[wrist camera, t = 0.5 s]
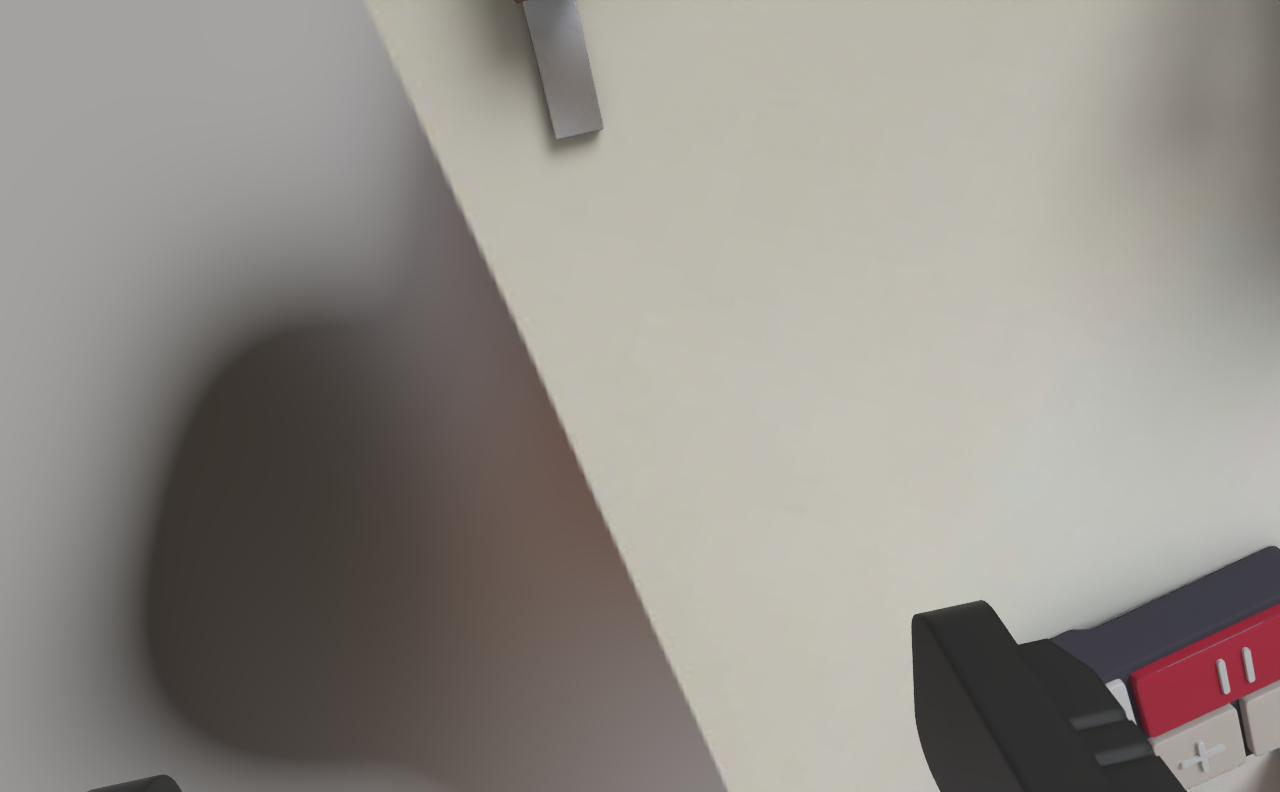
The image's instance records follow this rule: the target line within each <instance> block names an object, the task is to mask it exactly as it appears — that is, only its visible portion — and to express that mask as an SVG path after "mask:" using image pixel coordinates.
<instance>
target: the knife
mask: <svg viewBox="0 0 1280 792" xmlns="http://www.w3.org/2000/svg"><path fill="white" fill-rule="evenodd" d="M515 2H516V3H519V2H522V3H523V7H524V11H525V15H526V19H527V23H528V27H529V31H530V35H531V40H532V44H533V48H534V52H535V56H536V60H537V64H538V68H539V73H540V77H541V81H542V85H543V89H544V93H545V97H546V101H547V105H548V110H549V114H550V118H551V122H552V126H553V130H554V134H555V138H556V140H559V139H564V138H568V137H572V136H576V135H581V134H585V133H589V132H594V131H598V130H602V129H603V124H602V119H601V114H600V110H599V105H598V101H597V96H596V91H595V87H594V82H593V78H592V73H591V68H590V64H589V59H588V55H587V50H586V45H585V41H584V36H583V32H582V27H581V23H580V18H579V13H578V9H577V4H576V0H515Z"/></svg>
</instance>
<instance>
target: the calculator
mask: <svg viewBox="0 0 1280 792" xmlns="http://www.w3.org/2000/svg"><path fill="white" fill-rule="evenodd" d="M1050 640H1051V641H1052V642H1054V643H1055V644H1057V645H1058V646H1059V647H1061V648H1062V649H1064V650H1065V651H1067V652H1068V653H1070V654H1071V655H1073V656H1074V657H1076V658H1077V659H1079V660H1080V661H1082V662H1083V663H1085V664H1086V665H1088V666H1089V667H1091V668H1092V669H1094V671H1095V672H1096V673H1097V674H1098V676H1099V677H1100V678H1101V680H1102V681H1103V682H1104V684H1105V685H1106V686H1107V688H1108V689H1109V690H1110V691H1111V693H1112V694H1113V695H1114V697H1115V698H1116V699H1117V701H1118V702H1119V703H1120V705H1121V706H1122V707H1123V709H1124V710H1125V711H1126V716H1127V718H1128V720H1133V722H1134V723H1135V724H1136V726H1137V727H1138V728H1139V729H1140V731H1141V732H1142V733H1143V735H1144V736H1145V737H1146V739H1147V740H1148V741H1149V743H1150V744H1151V745H1152V748H1153V752H1154V754H1155V755H1156V756H1160V757H1161V758H1162V760H1163V761H1164V762H1165V764H1166V765H1167V766H1168V767H1169V769H1170V770H1171V771H1172V773H1173V774H1174V775H1175V777H1176V778H1177V779H1178V781H1179V782H1180V783H1181V784H1182V786H1183V787H1184V788H1185V790H1187V789H1190V788H1192V787H1194V786H1196V785H1198V784H1201V783H1203V782H1205V781H1207V780H1209V779H1211V778H1214V777H1216V776H1218V775H1220V774H1222V773H1224V772H1227V771H1229V770H1231V769H1233V768H1235V767H1238V766H1240V765H1242V764H1243V763H1245V761H1246V756H1248V755H1251V754H1254V755H1255V756H1261V755H1264V754H1266V753H1268V752H1270V751H1272V750H1275V749H1277V748H1279V747H1280V549H1279V548H1277V547H1275V546H1271V547H1268V548H1266V549H1264V550H1261V551H1259V552H1257V553H1255V554H1253V555H1251V556H1249V557H1247V558H1244V559H1242V560H1240V561H1238V562H1236V563H1234V564H1232V565H1230V566H1227V567H1225V568H1223V569H1221V570H1219V571H1217V572H1215V573H1213V574H1210V575H1208V576H1206V577H1204V578H1202V579H1200V580H1198V581H1196V582H1193V583H1191V584H1189V585H1187V586H1185V587H1183V588H1181V589H1179V590H1176V591H1174V592H1172V593H1170V594H1168V595H1166V596H1164V597H1162V598H1159V599H1157V600H1155V601H1153V602H1151V603H1149V604H1147V605H1145V606H1142V607H1140V608H1138V609H1136V610H1134V611H1132V612H1130V613H1128V614H1125V615H1123V616H1121V617H1119V618H1117V619H1115V620H1113V621H1111V622H1108V623H1106V624H1104V625H1102V626H1100V627H1098V628H1095V629H1091V630H1069V631H1067V632H1065V633H1063V634H1061V635H1059V636H1056V637H1054V638H1052V639H1050Z"/></svg>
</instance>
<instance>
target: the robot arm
mask: <svg viewBox="0 0 1280 792" xmlns="http://www.w3.org/2000/svg"><path fill="white" fill-rule="evenodd" d="M912 654H913V679H914V704H915V718H916V725H917V730H918V734H919V738H920V742H921V746H922V749H923V752H924V755H925V758H926V761H927V763H928V766H929V768H930V771H931V773H932V775H933V777H934V779H935V781H936V784H937V786H938V788H939V790H940V792H1187V791H1186V790H1185V788H1184V787H1183V786H1182V784H1181V783H1180V782H1179V781H1178V779H1177V778H1176V777H1175V775H1174V774H1173V773H1172V771H1171V770H1170V769H1169V767H1168V766H1167V765H1166V764H1165V762H1164V761H1163V760H1162V758H1161V757H1160V756H1156V755H1155V754H1154V752H1153V748H1152V745H1151V744H1150V743H1149V741H1148V740H1147V739H1146V737H1145V736H1144V735H1143V733H1142V732H1141V731H1140V729H1139V728H1138V727H1137V726H1136V724H1135V723H1134V722H1133V720H1128V718H1127V716H1126V711H1125V710H1124V709H1123V707H1122V706H1121V705H1120V703H1119V702H1118V701H1117V699H1116V698H1115V697H1114V695H1113V694H1112V693H1111V691H1110V690H1109V689H1108V688H1107V686H1106V685H1105V684H1104V682H1103V681H1102V680H1101V678H1100V677H1099V676H1098V674H1097V673H1096V672H1095V671H1094V669H1092V668H1091V667H1089V666H1088V665H1086V664H1085V663H1083V662H1082V661H1080V660H1079V659H1077V658H1076V657H1074V656H1073V655H1071V654H1070V653H1068V652H1067V651H1065V650H1064V649H1062V648H1061V647H1059V646H1058V645H1057V644H1055V643H1054V642H1052V641H1051V640H1049V639H1048V638H1047V639H1043V640H1038V641H1034V642H1029V643H1024V644H1020V645H1018V644H1017V643H1016V641H1015V640H1014V639H1013V637H1012V636H1011V634H1010V633H1009V631H1008V630H1007V628H1006V627H1005V625H1004V624H1003V623H1002V621H1001V620H1000V618H999V617H998V615H997V614H996V612H995V611H994V610H993V608H992V607H991V606H990V605H989V604H988V603H987V602H985V601H982V600H980V601H975V602H970V603H966V604H961V605H957V606H952V607H947V608H943V609H938V610H933V611H929V612H924V613H920V614H915V615H914V616H913V619H912ZM88 792H182V791H181V790H180V788H179V786H178V785H177V783H176V782H175V781H174V780H173V779H172V778H171V777H169V776H167V775H158V776H153V777H149V778H144V779H140V780H135V781H130V782H126V783H121V784H116V785H112V786H107V787H102V788H98V789H93V790H90V791H88Z"/></svg>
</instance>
